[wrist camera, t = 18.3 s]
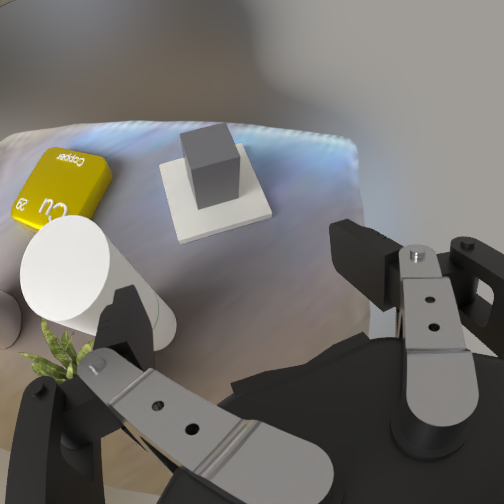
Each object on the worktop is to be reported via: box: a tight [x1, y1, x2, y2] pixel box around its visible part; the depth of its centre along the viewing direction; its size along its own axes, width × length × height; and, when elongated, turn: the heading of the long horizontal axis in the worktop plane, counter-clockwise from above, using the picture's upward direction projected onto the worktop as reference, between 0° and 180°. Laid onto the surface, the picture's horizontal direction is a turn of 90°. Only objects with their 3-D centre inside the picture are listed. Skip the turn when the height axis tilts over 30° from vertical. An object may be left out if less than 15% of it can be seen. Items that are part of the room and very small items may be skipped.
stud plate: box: [159, 143, 272, 245], centre depth 45 cm, size 14×14×8 cm
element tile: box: [11, 147, 113, 233], centre depth 45 cm, size 15×15×5 cm
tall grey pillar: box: [180, 123, 240, 210], centre depth 43 cm, size 6×6×10 cm
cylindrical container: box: [20, 215, 177, 351], centre depth 29 cm, size 7×7×25 cm
